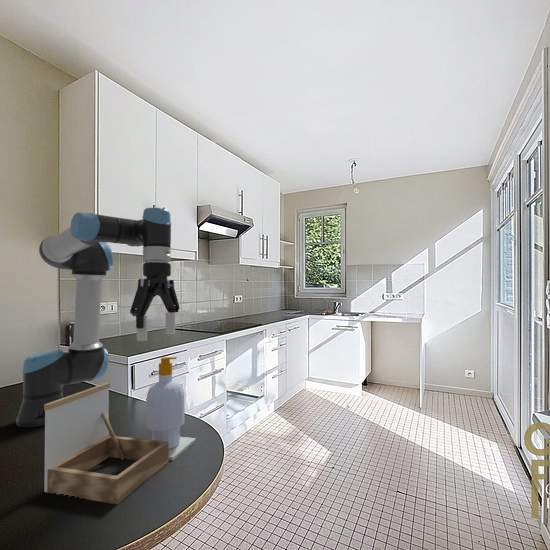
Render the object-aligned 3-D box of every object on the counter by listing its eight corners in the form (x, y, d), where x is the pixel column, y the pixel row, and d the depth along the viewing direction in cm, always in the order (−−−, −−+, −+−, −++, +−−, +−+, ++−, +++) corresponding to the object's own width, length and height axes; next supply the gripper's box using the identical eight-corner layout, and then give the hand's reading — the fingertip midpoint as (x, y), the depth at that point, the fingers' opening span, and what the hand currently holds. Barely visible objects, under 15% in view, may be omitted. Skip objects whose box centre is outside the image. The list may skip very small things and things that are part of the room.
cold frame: (45, 492, 76) (46, 437, 77) (107, 454, 94) (107, 409, 94) (117, 504, 71) (117, 445, 72) (168, 461, 89) (168, 414, 89)
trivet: (133, 455, 93) (133, 452, 93) (160, 437, 104) (160, 434, 104) (173, 460, 89) (173, 457, 89) (196, 441, 101) (195, 438, 101)
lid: (43, 492, 76) (44, 404, 77) (106, 453, 94) (106, 382, 95) (46, 492, 76) (47, 404, 77) (109, 453, 94) (109, 382, 95)
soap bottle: (181, 452, 92) (180, 360, 93) (141, 454, 91) (141, 362, 93) (188, 436, 102) (186, 353, 104) (152, 438, 102) (151, 355, 103)
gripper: (140, 258, 86) (140, 344, 85) (190, 265, 110) (190, 332, 109) (115, 259, 88) (114, 343, 87) (169, 265, 112) (169, 331, 111)
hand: (157, 337), depth 98 cm, fingers open, 13 cm apart
